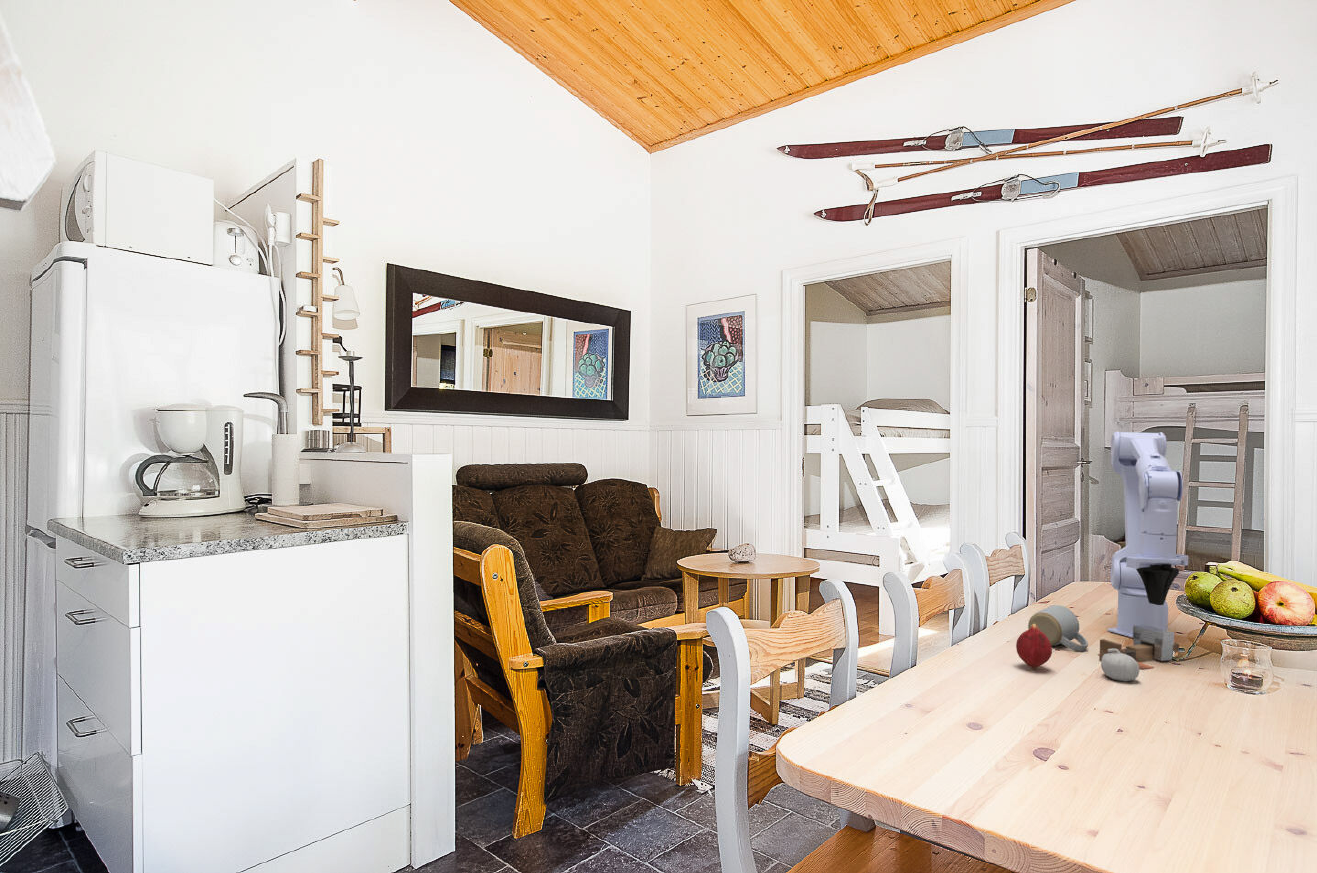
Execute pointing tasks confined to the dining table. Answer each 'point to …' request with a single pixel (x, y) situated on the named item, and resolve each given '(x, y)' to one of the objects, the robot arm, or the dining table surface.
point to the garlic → (1119, 666)
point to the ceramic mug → (1059, 627)
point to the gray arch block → (1155, 640)
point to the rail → (1133, 651)
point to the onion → (1034, 647)
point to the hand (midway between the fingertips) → (1156, 604)
